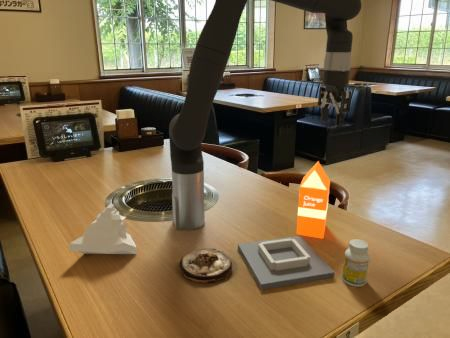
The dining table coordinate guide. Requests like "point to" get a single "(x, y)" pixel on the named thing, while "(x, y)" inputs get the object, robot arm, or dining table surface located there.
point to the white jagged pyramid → (105, 235)
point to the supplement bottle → (356, 263)
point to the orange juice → (313, 203)
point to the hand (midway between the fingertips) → (331, 123)
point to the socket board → (284, 262)
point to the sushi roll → (206, 266)
